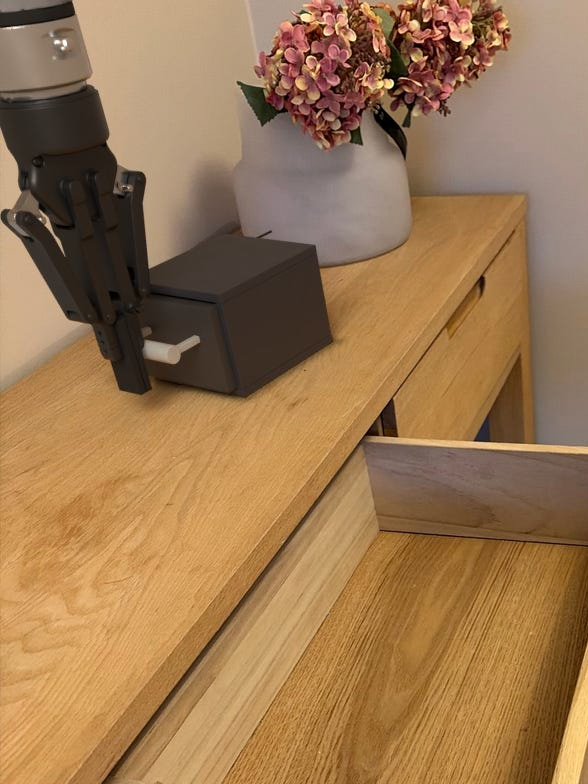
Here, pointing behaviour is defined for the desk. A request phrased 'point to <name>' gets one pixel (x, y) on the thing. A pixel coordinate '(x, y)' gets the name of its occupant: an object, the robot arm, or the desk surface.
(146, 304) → the drawer
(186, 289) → the cabinet
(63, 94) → the robot arm
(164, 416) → the desk surface
